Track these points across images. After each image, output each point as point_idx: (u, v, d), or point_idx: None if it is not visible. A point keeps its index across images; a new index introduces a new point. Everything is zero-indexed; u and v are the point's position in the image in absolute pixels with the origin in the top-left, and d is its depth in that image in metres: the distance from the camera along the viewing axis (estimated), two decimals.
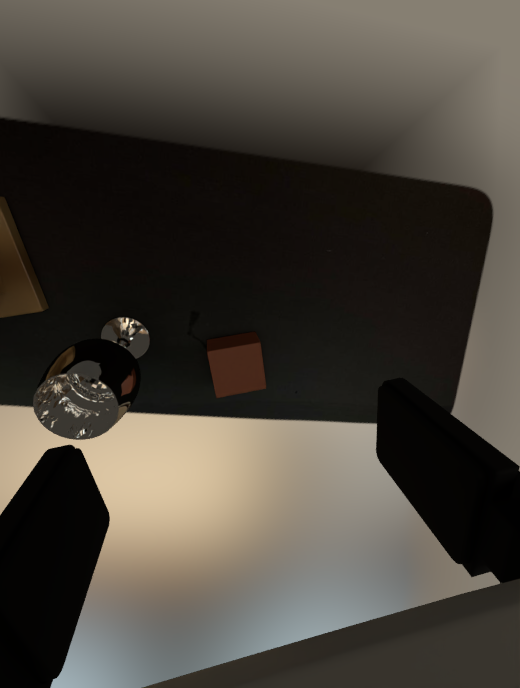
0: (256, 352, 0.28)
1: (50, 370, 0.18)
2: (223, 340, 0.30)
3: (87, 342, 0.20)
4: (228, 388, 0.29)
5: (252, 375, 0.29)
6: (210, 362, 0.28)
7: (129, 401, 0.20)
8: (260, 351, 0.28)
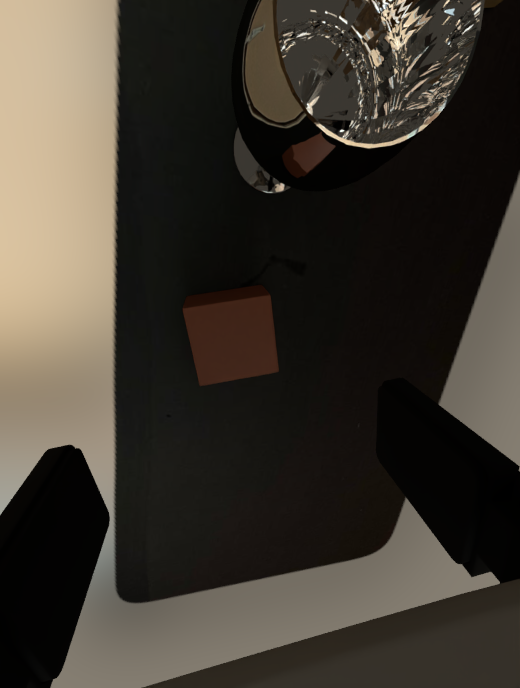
0: (263, 367, 0.19)
1: None
2: None
3: None
4: (201, 328, 0.17)
5: (223, 365, 0.18)
6: (251, 299, 0.17)
7: (317, 169, 0.08)
8: (264, 373, 0.19)
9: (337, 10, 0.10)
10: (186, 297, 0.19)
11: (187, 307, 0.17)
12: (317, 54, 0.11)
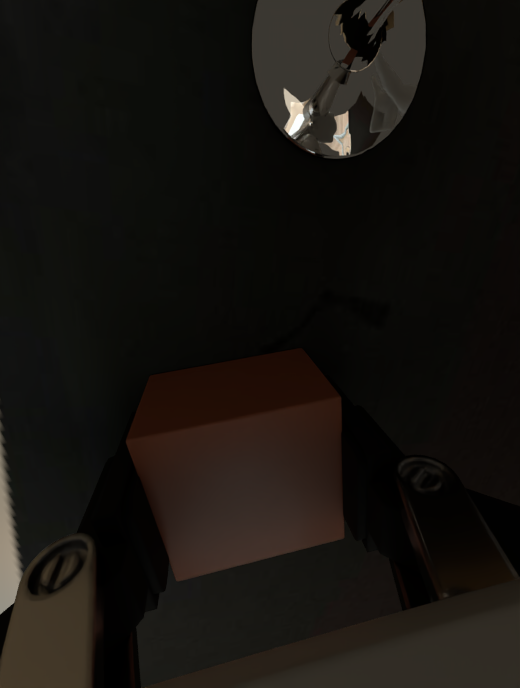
0: (313, 534, 0.09)
1: None
2: None
3: None
4: (175, 478, 0.07)
5: (228, 540, 0.08)
6: (296, 410, 0.07)
7: None
8: (315, 544, 0.09)
9: None
10: (148, 381, 0.09)
11: (138, 436, 0.07)
12: None
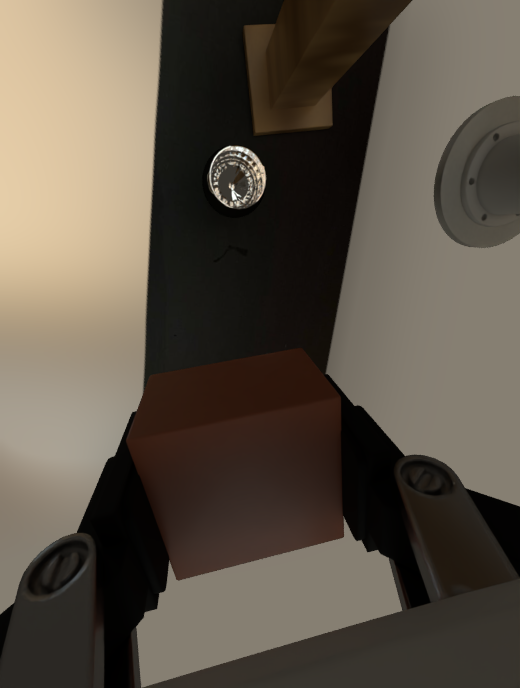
0: (313, 534, 0.09)
1: None
2: None
3: None
4: (176, 477, 0.07)
5: (228, 539, 0.08)
6: (296, 409, 0.07)
7: (229, 212, 0.27)
8: (314, 543, 0.09)
9: (239, 156, 0.28)
10: (148, 381, 0.09)
11: (139, 436, 0.07)
12: (234, 167, 0.29)
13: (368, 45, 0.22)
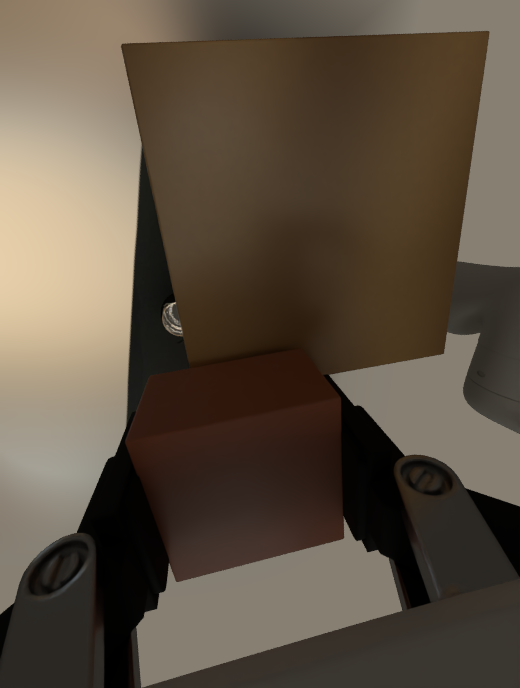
0: (313, 535, 0.09)
1: None
2: None
3: None
4: (175, 478, 0.07)
5: (228, 541, 0.08)
6: (296, 410, 0.07)
7: (177, 334, 0.41)
8: (314, 544, 0.09)
9: None
10: (147, 381, 0.09)
11: (138, 437, 0.07)
12: None
13: None
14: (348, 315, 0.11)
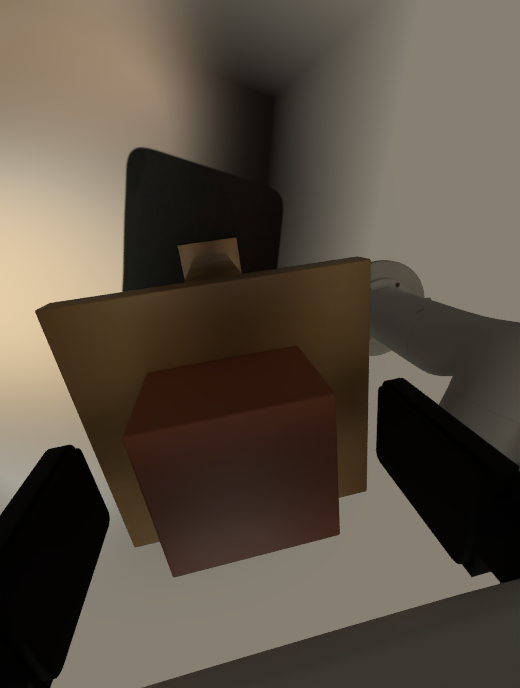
0: (309, 531, 0.09)
1: None
2: None
3: None
4: (171, 474, 0.07)
5: (224, 536, 0.08)
6: (291, 407, 0.07)
7: None
8: (310, 540, 0.09)
9: None
10: (145, 379, 0.09)
11: (134, 432, 0.07)
12: None
13: None
14: None
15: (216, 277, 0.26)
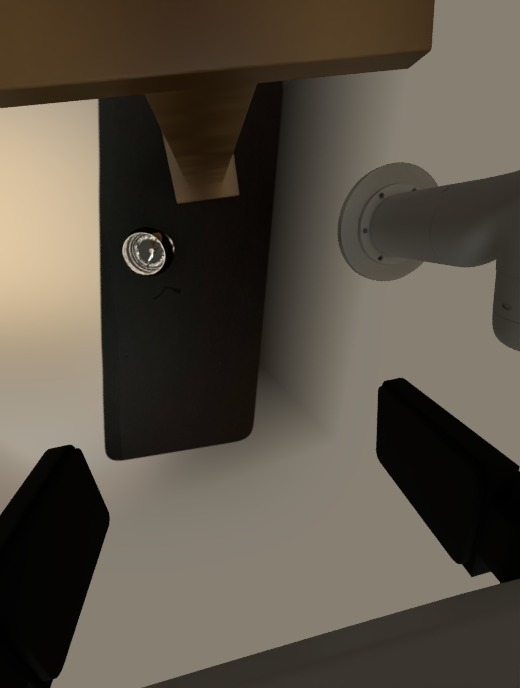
0: None
1: (163, 241, 0.35)
2: None
3: (173, 251, 0.38)
4: None
5: None
6: None
7: None
8: None
9: None
10: None
11: None
12: (153, 237, 0.39)
13: (226, 165, 0.31)
14: None
15: None
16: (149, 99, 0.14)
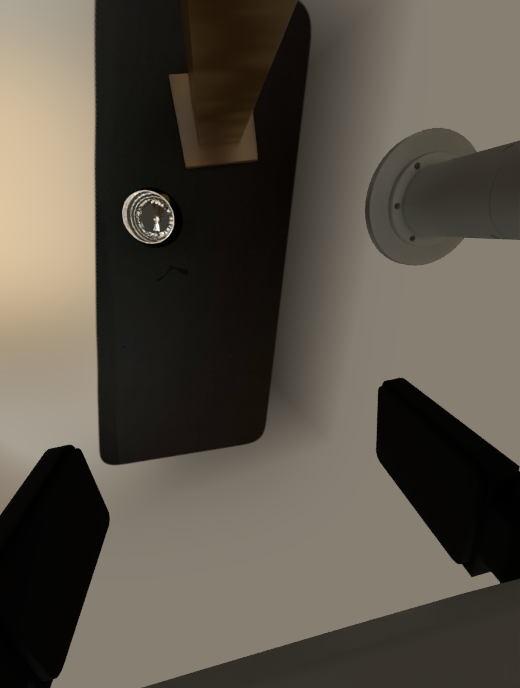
0: None
1: (171, 203, 0.29)
2: None
3: (182, 218, 0.32)
4: None
5: None
6: None
7: (147, 245, 0.30)
8: None
9: None
10: None
11: None
12: (158, 202, 0.33)
13: (252, 106, 0.26)
14: None
15: None
16: None
